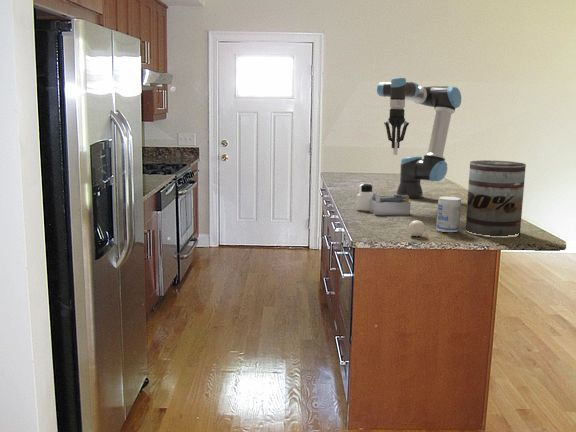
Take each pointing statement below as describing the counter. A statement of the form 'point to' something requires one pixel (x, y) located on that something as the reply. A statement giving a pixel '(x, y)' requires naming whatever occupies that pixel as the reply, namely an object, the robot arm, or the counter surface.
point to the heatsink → (389, 206)
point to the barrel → (495, 197)
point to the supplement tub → (448, 214)
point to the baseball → (416, 228)
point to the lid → (392, 197)
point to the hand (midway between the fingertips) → (395, 154)
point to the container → (364, 197)
